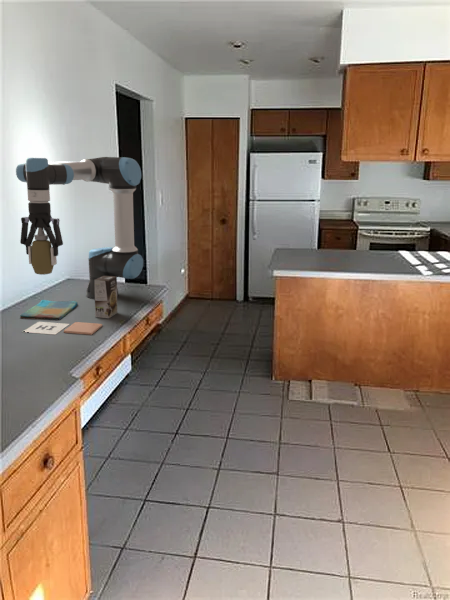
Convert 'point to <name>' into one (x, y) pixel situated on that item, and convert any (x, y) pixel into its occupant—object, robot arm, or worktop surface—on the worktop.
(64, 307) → the dish towel
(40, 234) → the squeeze bottle
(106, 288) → the coffee box
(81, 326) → the coaster pad
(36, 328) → the white flat square slab
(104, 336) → the worktop surface
